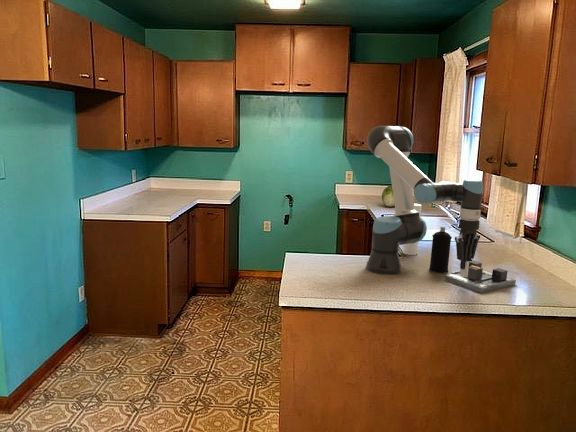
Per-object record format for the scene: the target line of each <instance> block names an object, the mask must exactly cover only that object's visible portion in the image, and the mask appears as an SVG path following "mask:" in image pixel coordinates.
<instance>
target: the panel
mask: <svg viewBox="0 0 576 432" xmlns="http://www.w3.org/2000/svg"><path fill="white" fill-rule="evenodd" d="M472 265H473V266H477V267H480V268H482V267H483V262H480V261H477V260H472V261H470V263H469V267H470V266H472ZM444 279H445V280H444V281H447V280H448V281H447V282H449V281H451V282H450V283H452V282H453V284H455V283H456V285H458V284H459V285H458V286H460V285H461V287H463V286H464V287H463V288H466V287H467V288H466V289H468V288H469V289H468V290H471V291H475V292H477V293H479V294H484V293H487V292H488V293H489V292H491V291H496V290H500V289H504V288H508V287H511V286H515V285H516V281H517V280H516V279H513V278H509V277H508V269H507V270H506V269H502V268H500V267H498V268H492V271H488V270H485V269H483V272H482V279H479V280H473V279H470V278H467V277H462V276H460V270H458V271H453V272H452V271H451V272H450V273H449V274H448V273H447V274H445V275H444Z"/></svg>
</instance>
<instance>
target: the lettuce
mask: <svg viewBox="0 0 576 432" xmlns="http://www.w3.org/2000/svg"><path fill="white" fill-rule="evenodd" d="M381 201H382V203H383V205H384V206H385V207H389V208H394V207H395V203H394V196H393V189H392V184H390V185H388V186H387V187H385V188H384V189H383V191H382V193H381Z"/></svg>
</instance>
